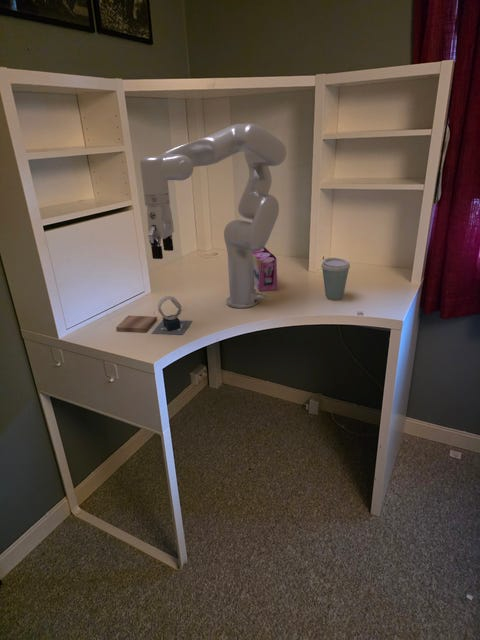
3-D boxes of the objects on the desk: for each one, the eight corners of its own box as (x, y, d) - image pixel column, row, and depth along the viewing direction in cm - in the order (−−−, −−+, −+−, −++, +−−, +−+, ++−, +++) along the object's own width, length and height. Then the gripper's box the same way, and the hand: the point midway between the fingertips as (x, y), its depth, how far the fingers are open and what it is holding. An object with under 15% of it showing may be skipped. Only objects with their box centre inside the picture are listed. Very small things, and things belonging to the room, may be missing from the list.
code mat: (192, 321, 152) (192, 320, 151) (182, 335, 142) (182, 334, 142) (163, 320, 154) (163, 319, 154) (151, 333, 144) (151, 332, 144)
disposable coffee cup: (352, 295, 168) (354, 258, 162) (342, 304, 160) (344, 266, 154) (326, 291, 173) (328, 255, 167) (315, 300, 165) (317, 262, 159)
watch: (186, 327, 147) (182, 297, 142) (163, 332, 144) (159, 302, 139) (180, 321, 151) (177, 292, 147) (158, 326, 148) (154, 296, 144)
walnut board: (157, 320, 154) (156, 316, 153) (146, 332, 145) (146, 328, 144) (129, 319, 156) (128, 315, 155) (116, 331, 147) (115, 327, 146)
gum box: (278, 290, 176) (278, 259, 171) (260, 293, 175) (259, 261, 169) (263, 273, 198) (263, 244, 192) (247, 275, 196) (246, 246, 191)
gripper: (158, 204, 122) (165, 262, 129) (178, 195, 137) (183, 247, 144) (133, 204, 123) (141, 262, 130) (156, 195, 138) (162, 247, 145)
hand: (163, 254), depth 137 cm, fingers open, 9 cm apart
